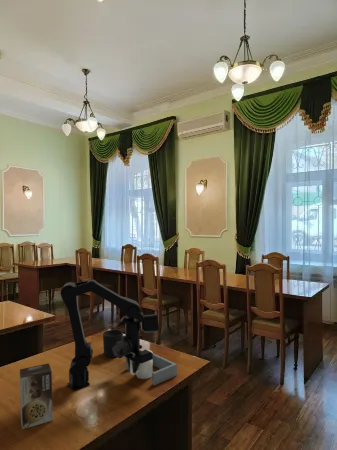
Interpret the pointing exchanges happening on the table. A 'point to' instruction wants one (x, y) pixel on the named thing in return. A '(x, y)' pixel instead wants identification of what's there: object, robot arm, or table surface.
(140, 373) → the jug
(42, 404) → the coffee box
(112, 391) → the table surface
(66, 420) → the table surface
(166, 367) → the frame
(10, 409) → the table surface
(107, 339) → the pen holder
